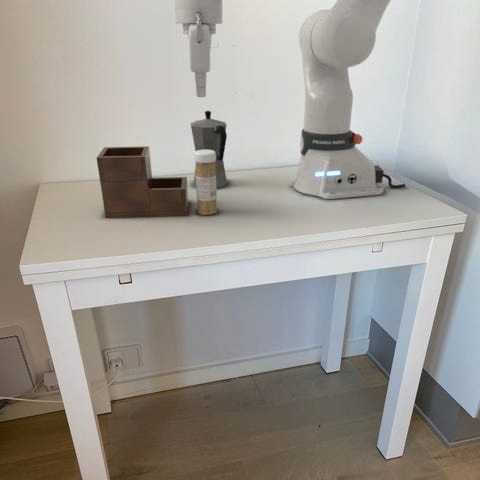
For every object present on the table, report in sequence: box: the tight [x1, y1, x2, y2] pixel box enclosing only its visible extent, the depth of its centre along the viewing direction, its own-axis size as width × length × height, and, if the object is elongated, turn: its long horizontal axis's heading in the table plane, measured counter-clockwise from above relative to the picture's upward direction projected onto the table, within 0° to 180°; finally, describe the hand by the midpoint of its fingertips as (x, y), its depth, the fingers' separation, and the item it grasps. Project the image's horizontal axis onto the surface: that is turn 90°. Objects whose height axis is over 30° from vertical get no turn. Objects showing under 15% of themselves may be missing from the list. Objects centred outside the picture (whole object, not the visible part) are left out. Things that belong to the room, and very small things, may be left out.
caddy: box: [96, 145, 189, 219], centre depth 111 cm, size 18×10×13 cm, turn 94°
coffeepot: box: [190, 110, 228, 189], centre depth 125 cm, size 15×9×18 cm, turn 29°
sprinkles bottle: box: [193, 150, 218, 216], centre depth 109 cm, size 5×5×13 cm
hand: (201, 93), depth 100 cm, fingers open, 8 cm apart
